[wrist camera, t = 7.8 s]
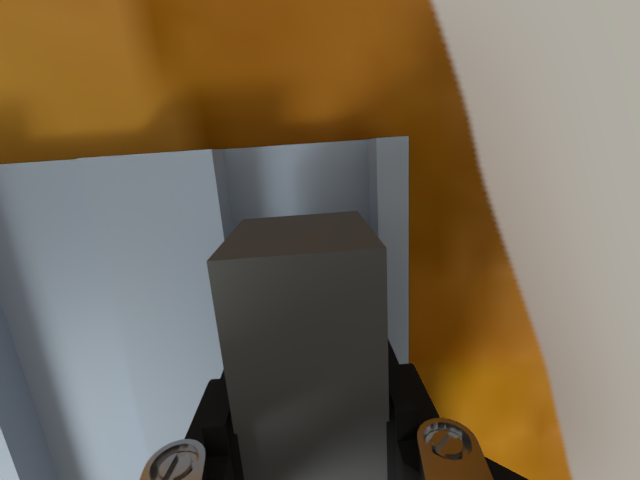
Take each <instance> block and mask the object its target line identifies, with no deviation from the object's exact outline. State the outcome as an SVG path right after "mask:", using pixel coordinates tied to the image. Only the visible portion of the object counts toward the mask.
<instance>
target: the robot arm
mask: <svg viewBox="0 0 640 480" xmlns="http://www.w3.org/2000/svg"><path fill="white" fill-rule="evenodd" d="M388 376H389V421H387V422H386V431H387V480H528V479H526V478H524V477H522V476H520V475H518V474H517V473H515V472H513V471H511V470H509V469H507V468H505V467H503V466H501V465H499V464H497V463H496V462H494V461H492V460H490V459H488V458H486V457H484V455H483V452H482V450H481V447H480V445H479V443H478V440H477V439H476V437H475V435H474V434H473V433H472V432H471V431H470V430H469V429H468V428H467V427H466V426H464V425H462V424H461V423H459V422H457V421H454V420H451V419H446V418H440V417H439V415H438V413H437V411H436V409H435V407H434V405H433V403H432V401H431V399H430V397H429V395H428V393H427V391H426V389H425V387H424V385H423V383H422V381H421V379H420V377H419V375H418V373H417V371H416V369H415V367H414V365H413V364H412V363H408V364H399V362H398V360H397V358H396V355H395V353H394V351H393V348H392V346H391V344H390V341H389V339H388ZM140 480H244V475H243V469H242V462H241V456H240V450H239V443H238V437H237V434H234V430H233V424H232V417H231V411H230V405H229V399H228V393H227V386H226V380H225V374H224V370H223V372H222V375H221V378H220V379H211V380H210V381H209V382H208V384H207V387H206V389H205V391H204V394H203V396H202V398H201V401H200V403H199V406H198V408H197V410H196V413H195V415H194V417H193V420H192V422H191V425H190V427H189V429H188V432H187V434H186V436H185V439H181V440H177V441H174V442H171V443H169V444H167V445H165V446H163V447H162V448H161V449H159V450H158V451H157V452H155V453H154V454H153V455H152V457H151V458H150V459H149V460H148V461H147V463H146V465H145V467H144V469H143V471H142V474H141V477H140Z"/></svg>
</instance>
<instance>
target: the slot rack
mask: <svg viewBox="0 0 640 480" xmlns="http://www.w3.org/2000/svg"><path fill="white" fill-rule="evenodd" d="M349 211H358V212H359V214H360V215H361V216H362V217H363V219H364V220H365V221H366V222H367V224H368V225H369V226H370V228H371V229H372V230H373V231H374V233H375V234H376V235H377V236H378V238H379V239H380V240H381V241H382V243H383V244H384V245H385V247H386V248H387V308H388V339H389V341H390V344H391V346H392V348H393V351H394V353H395V355H396V358H397V360H398V362H399V364H408V363H409V136H399V137H384V138H373V139H367V140H352V141H337V142H323V143H308V144H293V145H278V146H263V147H249V148H234V149H206V150H191V151H176V152H161V153H147V154H132V155H117V156H102V157H87V158H77V159H71V160H56V161H41V162H26V163H11V164H0V480H140V477H141V474H142V471H143V469H144V467H145V465H146V463H147V461H148V460H149V459H150V458H151V457H152V455H153V454H154V453H155V452H157V451H158V450H159V449H161V448H162V447H163V446H165V445H167V444H169V443H171V442H174V441H177V440H181V439H185V436H186V434H187V432H188V429H189V427H190V425H191V422H192V420H193V417H194V415H195V413H196V410H197V408H198V406H199V403H200V401H201V398H202V396H203V394H204V391H205V389H206V387H207V384H208V382H209V381H210V380H211V379H220V378H221V375H222V372H223V370H224V368H223V361H222V355H221V349H220V343H219V337H218V330H217V324H216V318H215V312H214V305H213V299H212V293H211V287H210V280H209V274H208V268H207V262H206V261H207V260H208V259H209V258H210V257H211V255H212V254H213V253H214V252H215V251H216V250H217V249H218V247H219V246H220V245H221V244H222V243H223V242H224V240H225V239H226V238H227V237H228V236H229V235H230V234H231V232H232V231H233V230H234V229H235V228H236V227H237V226H238V224H239V223H240V222H241V221H242V220H243V219H251V218H265V217H279V216H293V215H307V214H321V213H335V212H349Z"/></svg>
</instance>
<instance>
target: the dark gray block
mask: <svg viewBox="0 0 640 480" xmlns="http://www.w3.org/2000/svg"><path fill="white" fill-rule="evenodd" d="M206 262H207V268H208V274H209V280H210V287H211V293H212V299H213V305H214V312H215V318H216V324H217V330H218V337H219V343H220V349H221V355H222V361H223V368H224V374H225V380H226V386H227V393H228V399H229V405H230V411H231V417H232V424H233V430H234V434H237V437H238V443H239V450H240V456H241V462H242V469H243V475H244V480H387V431H386V422H387V421H389V376H388V308H387V248H386V247H385V245H384V244H383V243H382V241H381V240H380V239H379V238H378V236H377V235H376V234H375V233H374V231H373V230H372V229H371V228H370V226H369V225H368V224H367V222H366V221H365V220H364V219H363V217H362V216H361V215H360V214H359V212H358V211H349V212H335V213H321V214H307V215H293V216H279V217H265V218H251V219H243V220H242V221H241V222H240V223H239V224H238V226H237V227H236V228H235V229H234V230H233V231H232V232H231V234H230V235H229V236H228V237H227V238H226V239H225V240H224V242H223V243H222V244H221V245H220V246H219V247H218V249H217V250H216V251H215V252H214V253H213V254H212V255H211V257H210V258H209V259H208V260H207V261H206Z"/></svg>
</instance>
